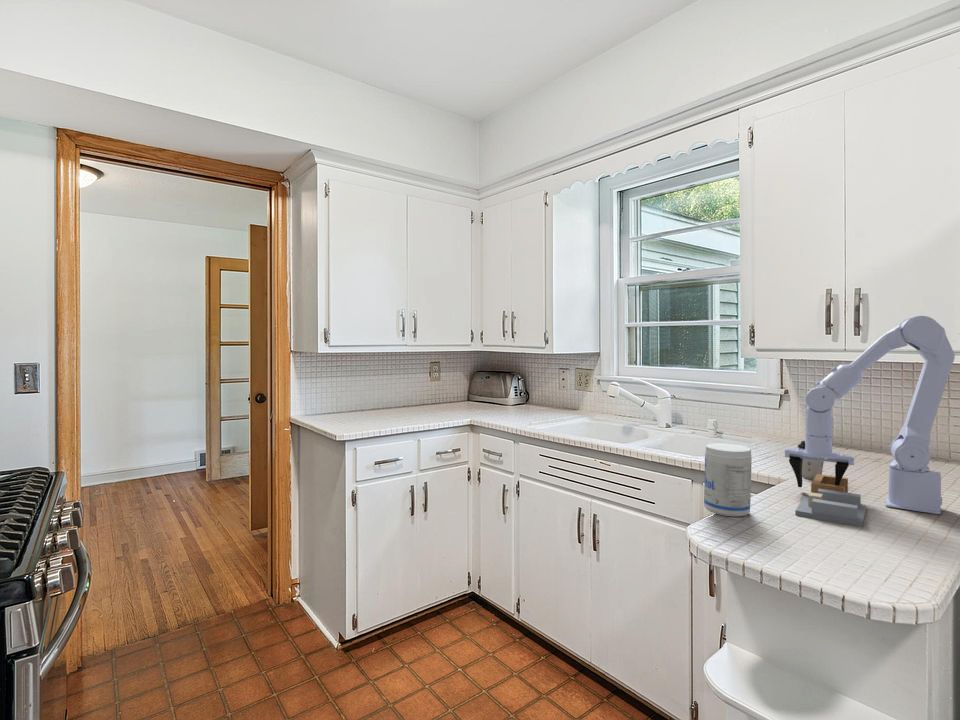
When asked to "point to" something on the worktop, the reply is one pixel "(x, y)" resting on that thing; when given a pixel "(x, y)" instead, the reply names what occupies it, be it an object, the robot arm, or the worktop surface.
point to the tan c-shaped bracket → (828, 483)
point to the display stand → (833, 507)
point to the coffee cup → (810, 465)
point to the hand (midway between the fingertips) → (817, 489)
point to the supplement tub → (727, 479)
